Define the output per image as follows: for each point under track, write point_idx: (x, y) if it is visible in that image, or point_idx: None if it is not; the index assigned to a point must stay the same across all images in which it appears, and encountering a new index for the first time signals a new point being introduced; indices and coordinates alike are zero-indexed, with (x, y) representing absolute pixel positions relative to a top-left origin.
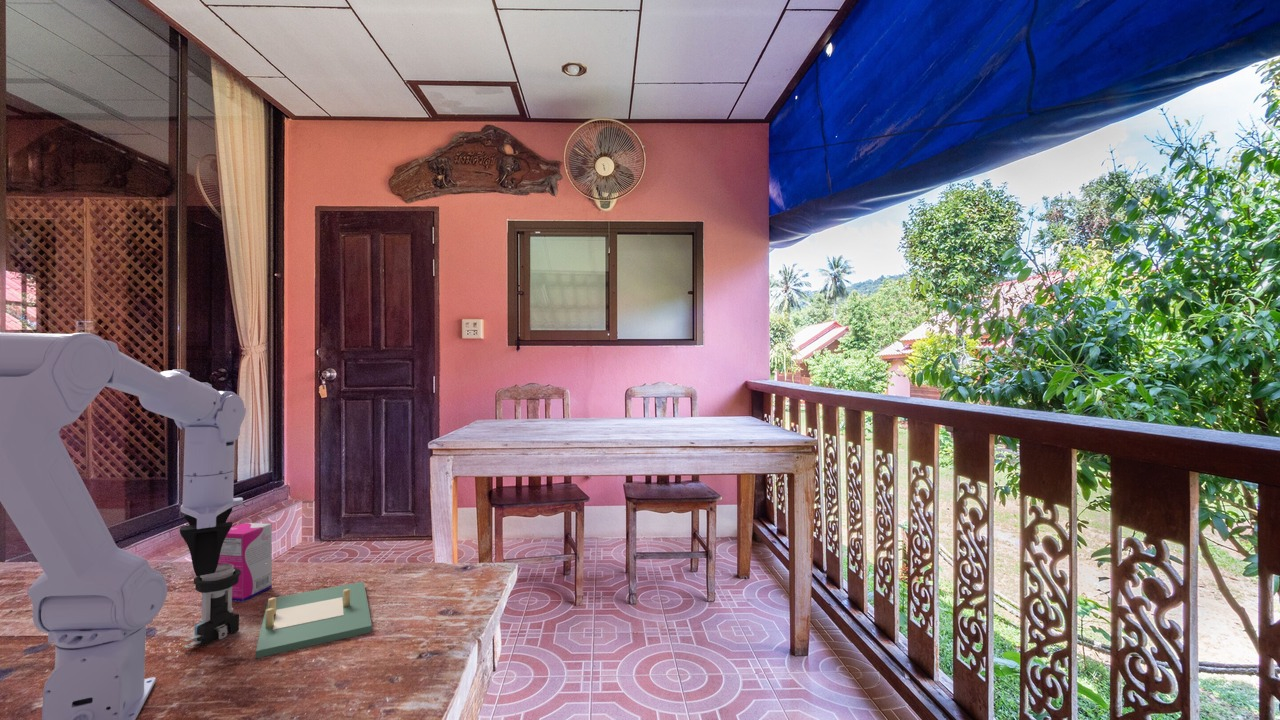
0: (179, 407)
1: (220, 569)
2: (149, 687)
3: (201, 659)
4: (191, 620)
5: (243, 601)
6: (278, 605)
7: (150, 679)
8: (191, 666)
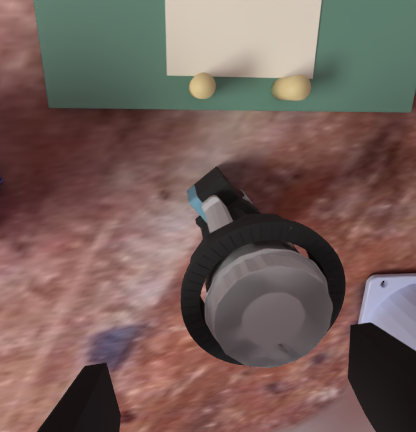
0: None
1: (299, 308)
2: (407, 278)
3: (323, 218)
4: (87, 277)
5: (2, 179)
6: (127, 71)
7: (378, 284)
8: (343, 230)
